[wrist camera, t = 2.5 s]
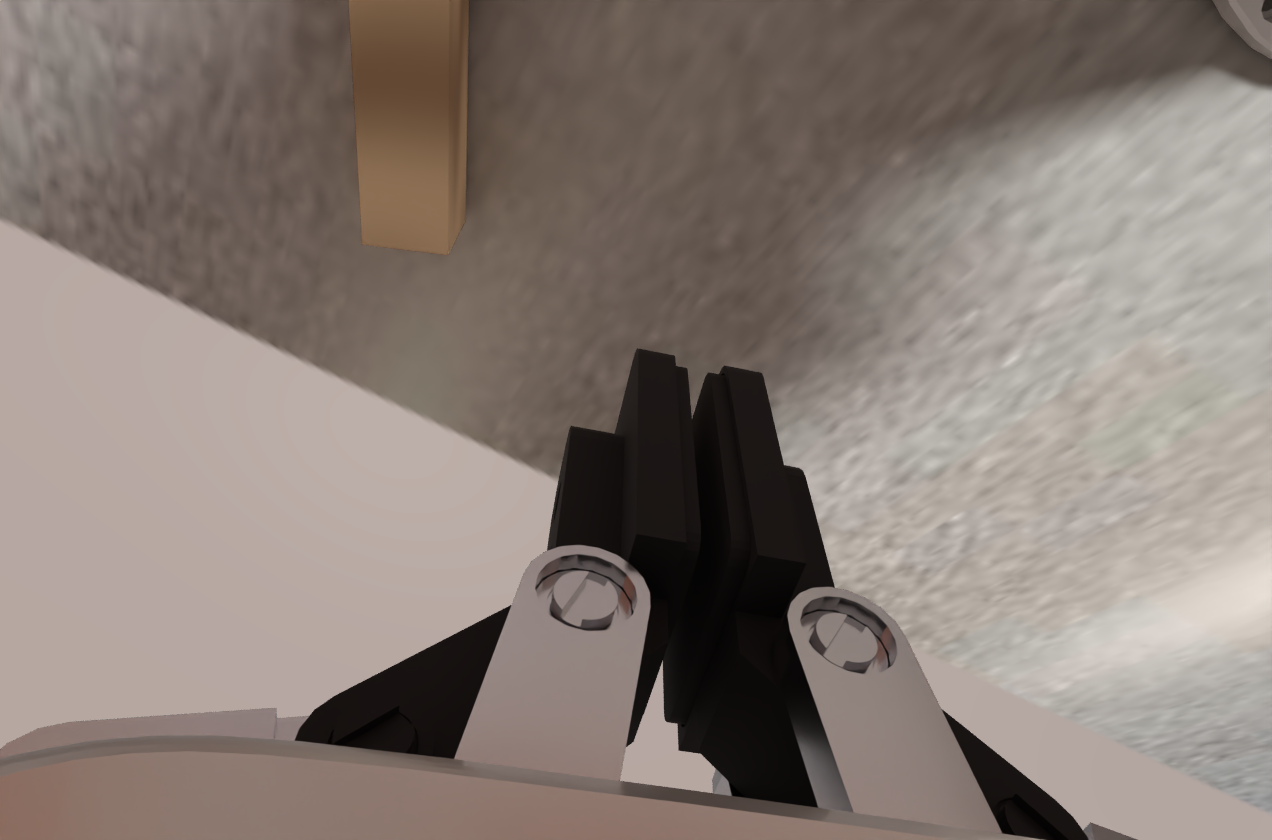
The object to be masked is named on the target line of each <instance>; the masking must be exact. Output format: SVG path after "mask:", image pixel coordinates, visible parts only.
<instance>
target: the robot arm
mask: <svg viewBox="0 0 1272 840" xmlns="http://www.w3.org/2000/svg"><path fill="white" fill-rule="evenodd" d="M1213 2H1214V4H1215V6H1216V8H1217V9H1218V11H1219V13H1220V15H1221V17H1222V18H1223V19H1224V20H1225V21H1226V22H1227V23H1228V24H1229V25H1230V26H1231V28H1232V29H1233V30H1234V31H1235V32H1236V33H1237V34H1238V35H1239V36H1240V37H1241V38H1242V39H1243V40H1244V41H1245V42H1246V43H1247V44H1248V45H1249V46H1250V47H1251V48H1253V49H1254V50H1256V51H1258V52H1260V53H1261V54H1263V55H1265V56H1267V57H1268V58H1270V59H1272V0H1265V2H1264V0H1213ZM1263 2H1264V3H1263ZM662 660H663V683H664V685H663V687H664V717H665V721H666V722H671V723H677V724H678V744H679V750H680V751H686V752H693V753H700V754H702V755H703V756H704V757H705V758H706V759H707V760H708V761H709V762H710V763H711V764H712V765H713V766H714V767H715V768H716V770H715V773H714V776H713V780H712V782H713V793H706V792H699V791H691V790H684V789H676V788H669V787H662V786H654V785H647V784H639V783H631V782H624V781H620V777H621V772H622V766H623V761H624V755H625V749H626V747H627V746H628V745H630V744H631V743H632V742H633V741H634V739H635V736H636V733H637V730H638V727H639V724H640V722H641V719H642V716H643V714H644V712H645V709H646V706H647V703H648V700H649V697H650V695H651V692H652V689H653V686H654V683H655V680H656V678H657V675H658V672H659V669H660V666H661V663H662ZM276 712H277V711H276V708H266V709H252V710H236V711H222V712H207V713H192V714H178V715H164V716H149V717H134V718H120V719H106V720H91V721H76V722H67V723H62V724H57V725H53V726H47V727H43V728H38V729H36V730H34V731H32V732H30V733H28V734H26V735H23V736H22V737H19V738H17V739H15V740H13V741H11V742H9V743H7V744H6V745H5V746H4V747H2V748H1V749H0V840H1137V839H1134V838H1131V837H1129V836H1126V835H1123V834H1121V833H1118V832H1115V831H1112V830H1110V829H1107V828H1104V827H1101V826H1098V825H1096V824H1093V823H1090V824H1089V825H1088V826H1087V827H1086V828H1085V829H1084V830H1082V829H1081V827H1080V826H1079V825H1078V823H1077V822H1076V821H1075V819H1074V818H1073V817H1072V816H1071V815H1070V814H1069V813H1068V812H1067V811H1066V810H1065V809H1064V808H1063V807H1062V806H1061V805H1060V804H1059V803H1058V802H1057V801H1056V800H1055V799H1053V798H1052V797H1051V796H1050V795H1048V794H1047V793H1046V792H1045V791H1043V790H1042V789H1041V788H1040V787H1038V786H1037V785H1036V784H1035V783H1033V782H1032V781H1031V780H1030V779H1028V778H1027V777H1026V776H1025V775H1023V774H1022V773H1021V772H1019V771H1018V770H1017V769H1016V768H1015V767H1013V766H1012V765H1011V764H1010V763H1008V762H1007V761H1006V760H1005V759H1003V758H1002V757H1001V756H1000V755H998V754H997V753H996V752H995V751H993V750H992V749H991V748H990V747H988V746H987V745H986V744H985V743H983V742H982V741H981V740H980V739H978V738H977V737H976V736H975V735H973V734H972V733H971V732H970V731H968V730H967V729H966V728H965V727H963V726H962V725H961V724H960V723H958V722H957V721H956V720H955V719H953V718H952V717H951V716H950V715H948V714H947V713H946V712H945V711H943V710H942V709H941V707H940V706H939V704H938V701H937V699H936V697H935V695H934V693H933V691H932V689H931V687H930V685H929V683H928V681H927V679H926V677H925V675H924V673H923V671H922V669H921V667H920V665H919V663H918V661H917V659H916V657H915V655H914V653H913V651H912V648H911V646H910V644H909V642H908V640H907V638H906V636H905V635H904V633H903V632H902V630H901V629H900V627H899V626H898V624H897V623H896V621H895V620H894V619H892V618H891V617H890V616H889V615H888V614H887V613H886V612H885V611H884V610H883V609H882V608H881V607H879V606H878V605H876V604H874V603H873V602H871V601H870V600H868V599H867V598H865V597H863V596H860V595H858V594H855V593H853V592H850V591H848V590H844V589H838V588H835V587H834V583H833V579H832V576H831V572H830V568H829V564H828V560H827V557H826V553H825V549H824V545H823V541H822V538H821V534H820V530H819V526H818V522H817V519H816V515H815V511H814V507H813V503H812V500H811V496H810V492H809V488H808V484H807V481H806V477H805V475H804V472H803V470H801V469H800V468H796V467H791V466H786V465H784V464H783V459H782V455H781V451H780V446H779V442H778V438H777V434H776V429H775V425H774V421H773V416H772V412H771V408H770V403H769V399H768V395H767V390H766V386H765V382H764V378H763V375H762V373H759V372H754V371H749V370H744V369H739V368H734V367H729V366H724V367H723V368H722V369H721V371H720V373H719V374H714V373H708V374H707V375H706V377H705V380H704V383H703V386H702V389H701V393H700V396H699V399H698V402H697V406H696V409H695V412H694V415H693V418H692V416H691V405H690V393H689V381H688V370H687V368H683V367H678V366H676V363H675V356H673V355H668V354H663V353H658V352H653V351H648V350H643V349H638V348H637V350H636V353H635V355H634V359H633V363H632V367H631V371H630V375H629V379H628V383H627V387H626V391H625V395H624V399H623V403H622V407H621V411H620V415H619V419H618V423H617V427H616V431H615V434H612V433H607V432H601V431H596V430H591V429H585V428H580V427H574V426H571V427H570V430H569V434H568V438H567V442H566V447H565V452H564V457H563V461H562V466H561V471H560V476H559V481H558V486H557V491H556V497H555V502H554V509H553V514H552V520H551V527H550V534H549V541H548V548H547V551H545V552H543V553H542V554H541V555H539V556H538V557H537V558H535V559H534V560H533V561H531V563H530V564H529V566H528V567H527V569H526V570H525V572H524V574H523V576H522V579H521V582H520V584H519V587H518V589H517V592H516V595H515V597H514V600H513V603H512V605H510V606H509V607H507V608H505V609H503V610H501V611H499V612H497V613H495V614H493V615H491V616H489V617H487V618H485V619H483V620H481V621H479V622H477V623H475V624H474V625H472V626H470V627H468V628H466V629H464V630H462V631H460V632H458V633H456V634H454V635H452V636H450V637H449V638H446V639H444V640H442V641H441V642H439V643H437V644H435V645H433V646H431V647H429V648H427V649H425V650H423V651H421V652H419V653H417V654H415V655H414V656H411V657H409V658H407V659H405V660H404V661H402V662H400V663H398V664H396V665H394V666H392V667H390V668H388V669H386V670H384V671H383V672H380V673H378V674H377V675H374V676H372V677H371V678H369V679H367V680H365V681H363V682H361V683H359V684H357V685H355V686H353V687H351V688H349V689H348V690H345V691H343V692H341V693H339V694H338V695H336V696H334V697H332V698H331V699H330V700H328V701H327V702H326V703H324V704H322V705H321V706H320V707H318V708H316V709H315V710H314V711H313V712H312V714H311V715H310V716H302V717H288V718H277V713H276Z"/></svg>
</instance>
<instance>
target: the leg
mask: <svg viewBox="0 0 1272 840" xmlns="http://www.w3.org/2000/svg"><path fill="white" fill-rule="evenodd" d="M348 3H349V20H350V38H351V56H352V74H353V91H354V109H355V127H356V145H357V162H358V180H359V198H360V215H361V233H362V245H370V246H378V247H386V248H394V249H402V250H410V251H418V252H427V253H435V254H443V255H448V254H449V252H450V250H451V249H452V247H453V245H454V243H455V241H456V239H457V237H458V235H459V233H460V231H461V229H462V227H463V225H464V223H465V220H466V157H467V94H468V31H469V0H348Z"/></svg>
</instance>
